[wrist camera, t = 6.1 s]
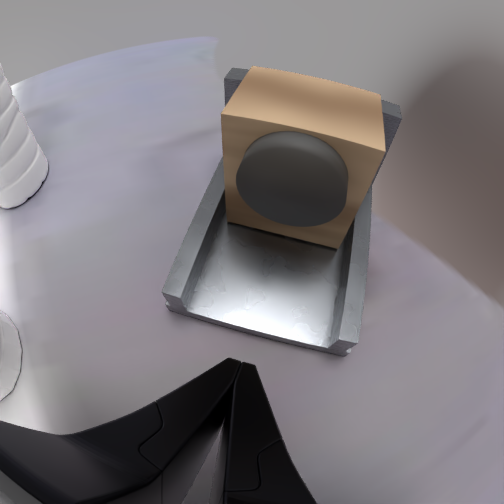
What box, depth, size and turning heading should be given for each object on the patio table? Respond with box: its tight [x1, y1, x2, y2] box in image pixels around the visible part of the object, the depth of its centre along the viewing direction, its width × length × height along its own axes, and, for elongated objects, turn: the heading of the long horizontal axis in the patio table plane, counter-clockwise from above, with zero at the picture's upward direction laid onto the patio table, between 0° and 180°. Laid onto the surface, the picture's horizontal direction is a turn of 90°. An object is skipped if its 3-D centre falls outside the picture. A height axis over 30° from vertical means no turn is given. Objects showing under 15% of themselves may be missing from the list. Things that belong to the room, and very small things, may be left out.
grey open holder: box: [162, 68, 402, 356], centre depth 16 cm, size 13×10×8 cm
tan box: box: [221, 66, 386, 249], centre depth 16 cm, size 6×7×8 cm
